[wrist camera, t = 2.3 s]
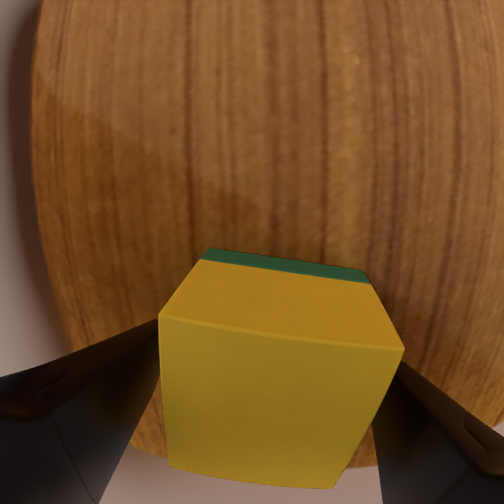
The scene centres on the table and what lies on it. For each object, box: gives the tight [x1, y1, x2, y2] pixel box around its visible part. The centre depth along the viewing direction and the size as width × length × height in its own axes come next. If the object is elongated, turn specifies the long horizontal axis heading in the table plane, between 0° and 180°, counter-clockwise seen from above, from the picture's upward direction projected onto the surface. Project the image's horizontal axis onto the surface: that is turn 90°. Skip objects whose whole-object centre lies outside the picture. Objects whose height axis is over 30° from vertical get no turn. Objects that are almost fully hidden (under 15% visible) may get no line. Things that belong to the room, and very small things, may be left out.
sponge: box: [158, 248, 405, 489], centre depth 8 cm, size 5×4×4 cm
